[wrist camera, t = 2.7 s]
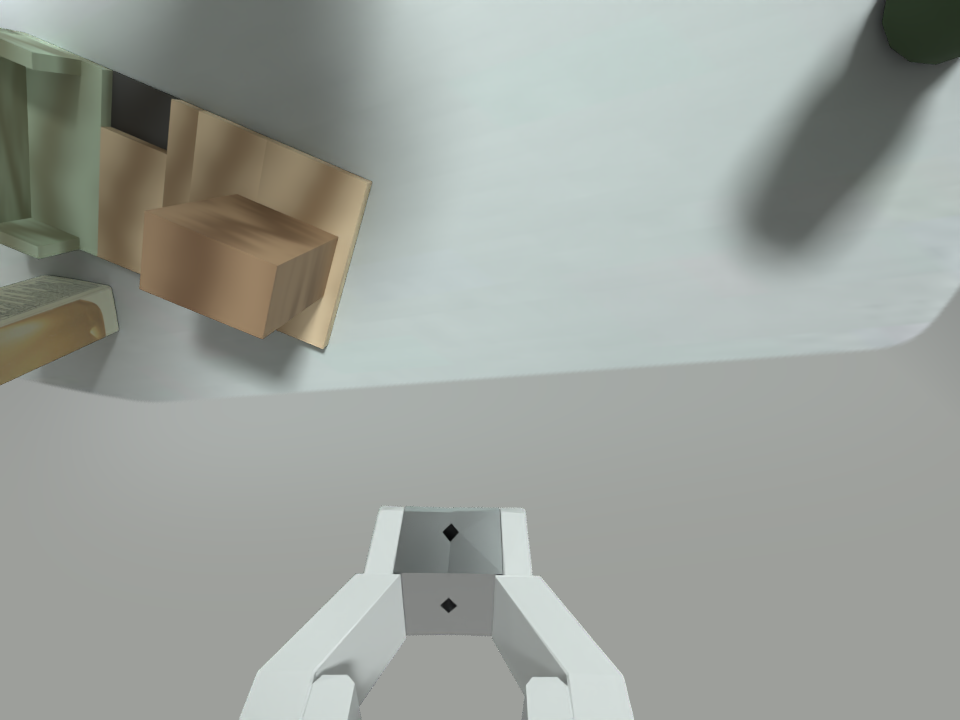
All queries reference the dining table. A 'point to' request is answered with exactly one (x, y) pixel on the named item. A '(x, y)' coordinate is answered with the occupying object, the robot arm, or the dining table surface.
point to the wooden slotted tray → (145, 167)
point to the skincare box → (50, 321)
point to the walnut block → (235, 261)
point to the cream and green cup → (923, 29)
